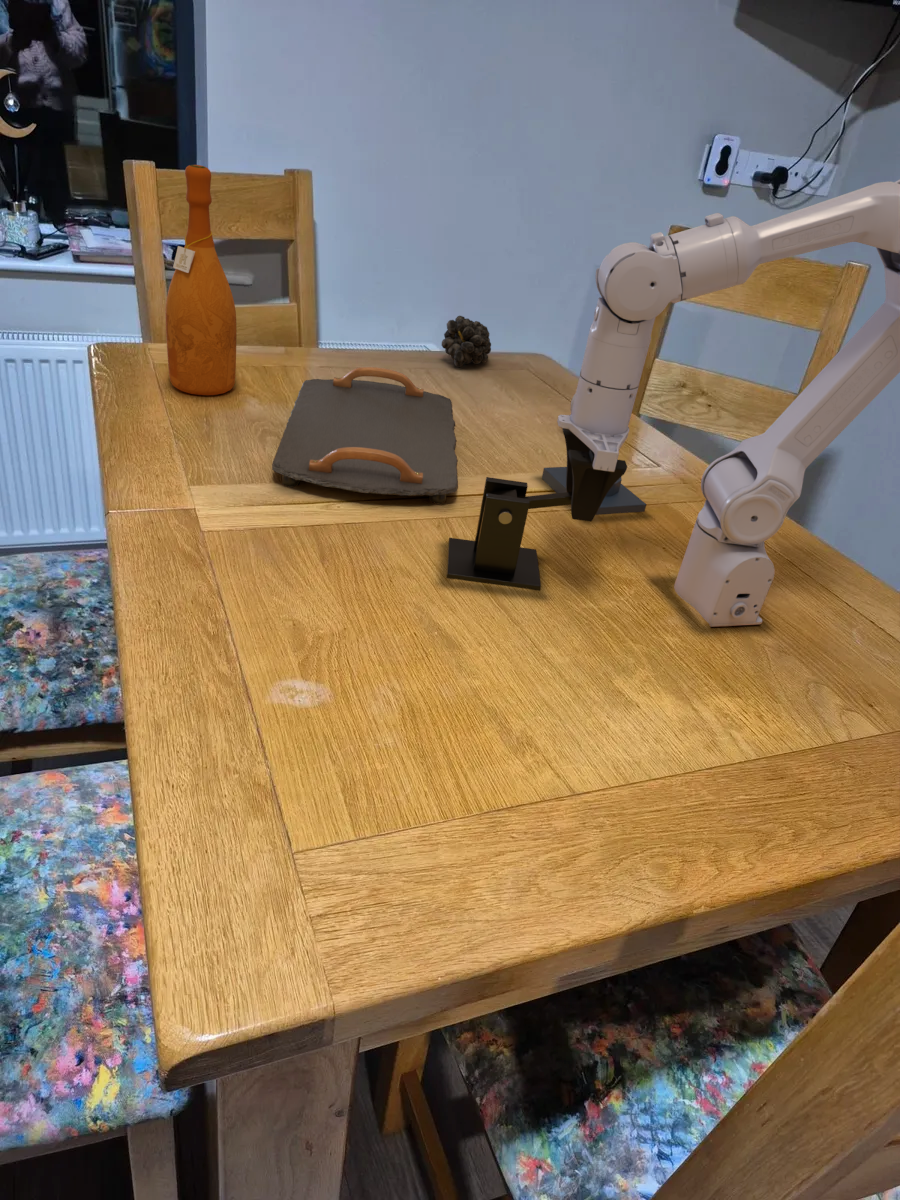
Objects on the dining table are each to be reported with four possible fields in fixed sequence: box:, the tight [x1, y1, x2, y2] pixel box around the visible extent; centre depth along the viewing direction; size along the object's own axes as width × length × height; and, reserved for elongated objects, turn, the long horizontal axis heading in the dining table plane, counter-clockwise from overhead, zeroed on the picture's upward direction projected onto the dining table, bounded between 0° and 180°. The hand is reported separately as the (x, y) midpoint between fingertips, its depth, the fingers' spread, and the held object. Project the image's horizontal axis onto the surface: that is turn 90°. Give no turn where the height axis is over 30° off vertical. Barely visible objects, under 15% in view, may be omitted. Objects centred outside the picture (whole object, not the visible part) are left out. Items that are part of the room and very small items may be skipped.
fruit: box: [441, 315, 492, 368], centre depth 153 cm, size 9×8×15 cm
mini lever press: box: [446, 476, 542, 591], centre depth 88 cm, size 10×8×10 cm
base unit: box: [541, 466, 647, 516], centre depth 110 cm, size 12×9×4 cm
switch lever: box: [490, 489, 572, 510], centre depth 86 cm, size 10×5×2 cm, turn 89°
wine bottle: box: [165, 164, 237, 396], centre depth 117 cm, size 10×10×30 cm
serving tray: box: [271, 366, 459, 505], centre depth 113 cm, size 39×23×6 cm, turn 1°
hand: (578, 506), depth 87 cm, fingers closed on switch lever, 5 cm apart
